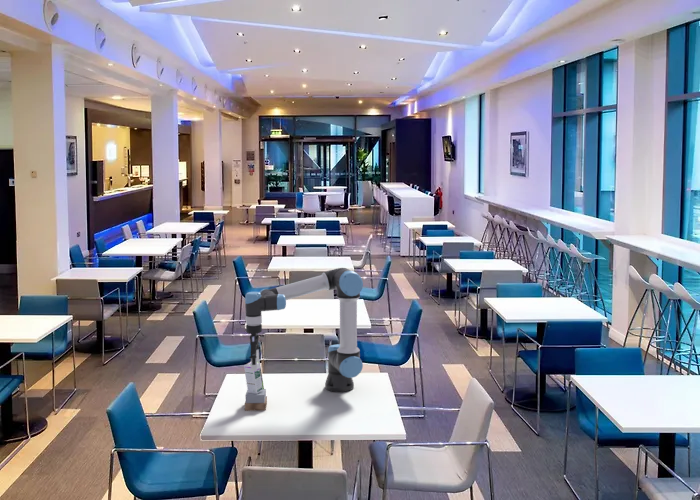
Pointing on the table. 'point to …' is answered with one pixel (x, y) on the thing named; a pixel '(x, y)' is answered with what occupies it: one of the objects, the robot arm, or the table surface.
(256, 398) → the slate top block
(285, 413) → the table surface
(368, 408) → the table surface
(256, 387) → the syrup box
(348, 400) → the table surface
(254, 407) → the walnut base block
